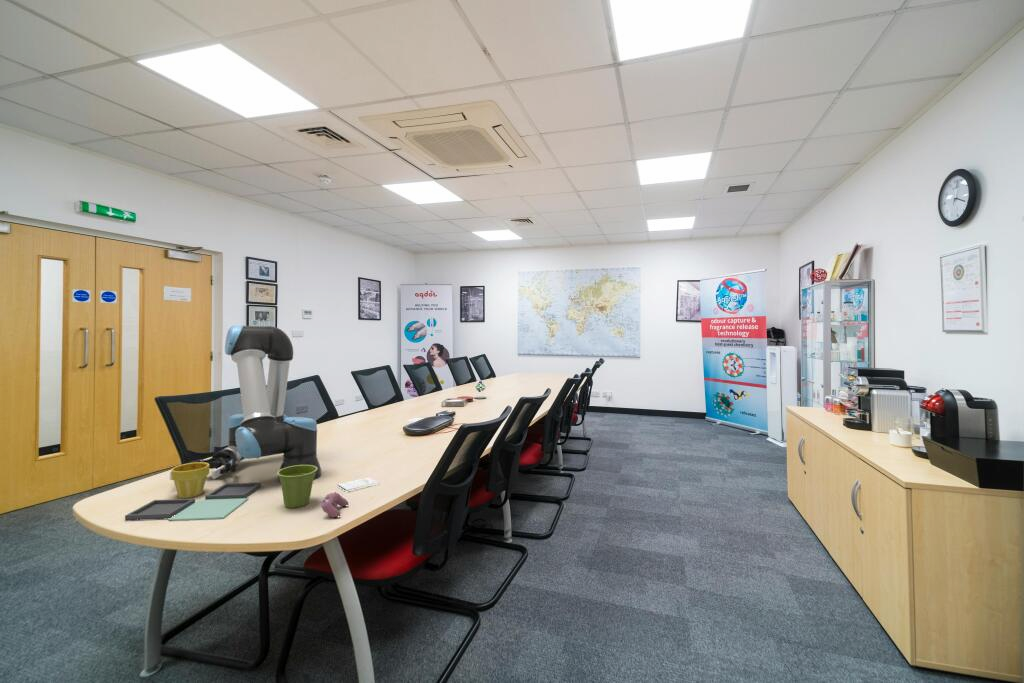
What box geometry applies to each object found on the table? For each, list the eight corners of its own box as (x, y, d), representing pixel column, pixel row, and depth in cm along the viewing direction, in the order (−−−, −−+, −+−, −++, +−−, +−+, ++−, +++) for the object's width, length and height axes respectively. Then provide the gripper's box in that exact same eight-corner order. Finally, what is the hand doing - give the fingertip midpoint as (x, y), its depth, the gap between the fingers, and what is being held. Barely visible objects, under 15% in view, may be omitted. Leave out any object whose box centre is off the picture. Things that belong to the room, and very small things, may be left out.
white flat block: (337, 488, 152) (369, 480, 161) (346, 494, 146) (379, 485, 155) (337, 483, 152) (369, 476, 161) (346, 489, 146) (379, 481, 155)
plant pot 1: (188, 501, 136) (188, 472, 136) (162, 499, 138) (163, 469, 138) (216, 490, 146) (216, 463, 146) (192, 488, 148) (192, 461, 148)
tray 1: (194, 503, 135) (195, 498, 135) (169, 518, 123) (169, 513, 123) (154, 504, 134) (154, 500, 134) (124, 520, 122) (125, 515, 122)
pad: (248, 499, 139) (248, 498, 139) (223, 518, 124) (223, 517, 124) (199, 501, 137) (199, 499, 137) (168, 521, 122) (168, 519, 122)
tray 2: (260, 486, 151) (260, 482, 151) (244, 499, 139) (244, 494, 139) (225, 487, 149) (225, 483, 149) (205, 500, 137) (205, 496, 137)
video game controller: (337, 510, 135) (327, 492, 134) (350, 504, 135) (340, 485, 135) (326, 524, 125) (316, 504, 125) (340, 517, 125) (330, 497, 125)
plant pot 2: (271, 513, 129) (271, 476, 129) (283, 498, 140) (283, 465, 140) (312, 510, 131) (312, 474, 131) (320, 496, 143) (321, 463, 143)
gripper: (259, 466, 167) (230, 485, 146) (192, 468, 164) (153, 487, 143) (259, 448, 167) (231, 464, 146) (192, 449, 164) (153, 465, 143)
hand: (192, 475), depth 144 cm, fingers open, 13 cm apart
